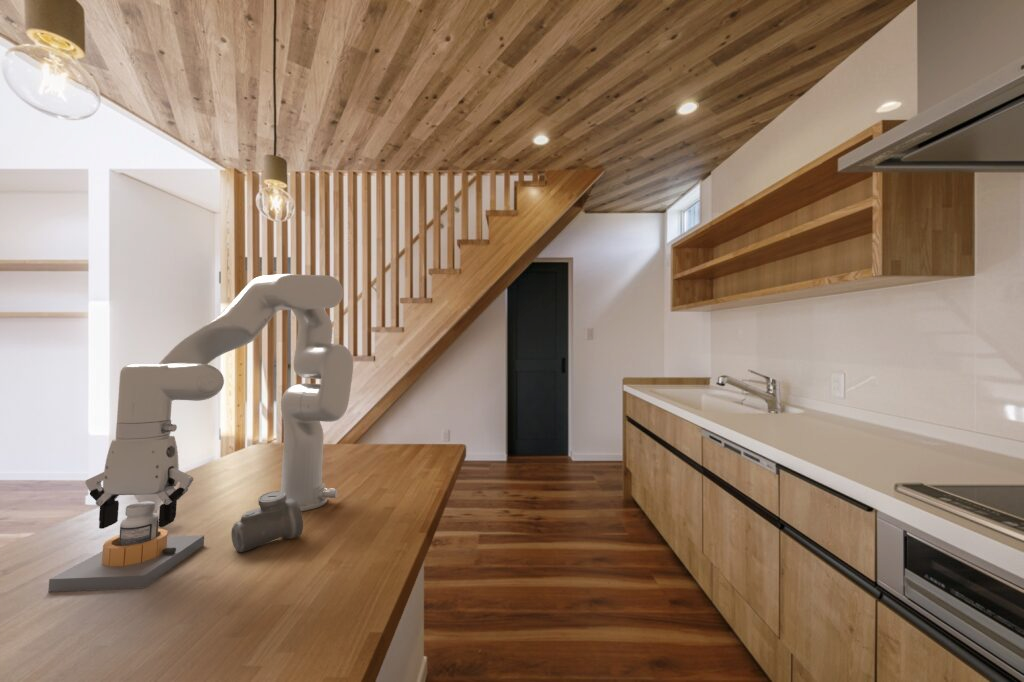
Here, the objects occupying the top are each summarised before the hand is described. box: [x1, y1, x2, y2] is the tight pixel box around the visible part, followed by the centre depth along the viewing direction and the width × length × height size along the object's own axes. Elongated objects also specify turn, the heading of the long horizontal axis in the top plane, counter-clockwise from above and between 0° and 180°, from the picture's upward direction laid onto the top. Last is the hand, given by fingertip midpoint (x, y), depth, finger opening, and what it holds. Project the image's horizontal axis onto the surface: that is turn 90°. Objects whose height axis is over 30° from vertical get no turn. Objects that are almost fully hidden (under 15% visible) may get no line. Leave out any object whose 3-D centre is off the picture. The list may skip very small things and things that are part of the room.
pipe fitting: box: [230, 490, 304, 553], centre depth 86 cm, size 12×8×10 cm
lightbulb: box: [133, 494, 162, 515], centre depth 95 cm, size 6×6×11 cm
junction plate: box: [47, 527, 205, 593], centre depth 76 cm, size 14×16×5 cm
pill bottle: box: [119, 501, 159, 546], centre depth 76 cm, size 5×5×9 cm
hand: (137, 524), depth 76 cm, fingers open, 9 cm apart
